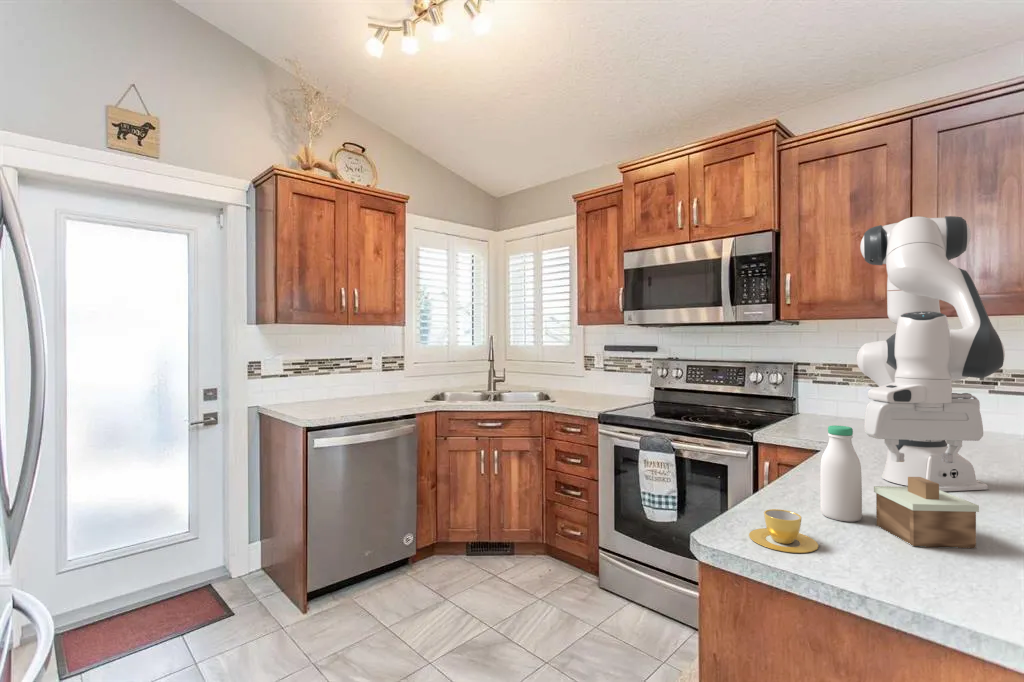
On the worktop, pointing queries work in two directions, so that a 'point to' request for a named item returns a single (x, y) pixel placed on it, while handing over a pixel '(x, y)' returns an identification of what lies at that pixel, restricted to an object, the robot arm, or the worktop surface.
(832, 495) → the milk bottle
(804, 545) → the cup
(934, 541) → the box
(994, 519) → the worktop surface
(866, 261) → the robot arm
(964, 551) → the worktop surface
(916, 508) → the lid
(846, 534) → the worktop surface
